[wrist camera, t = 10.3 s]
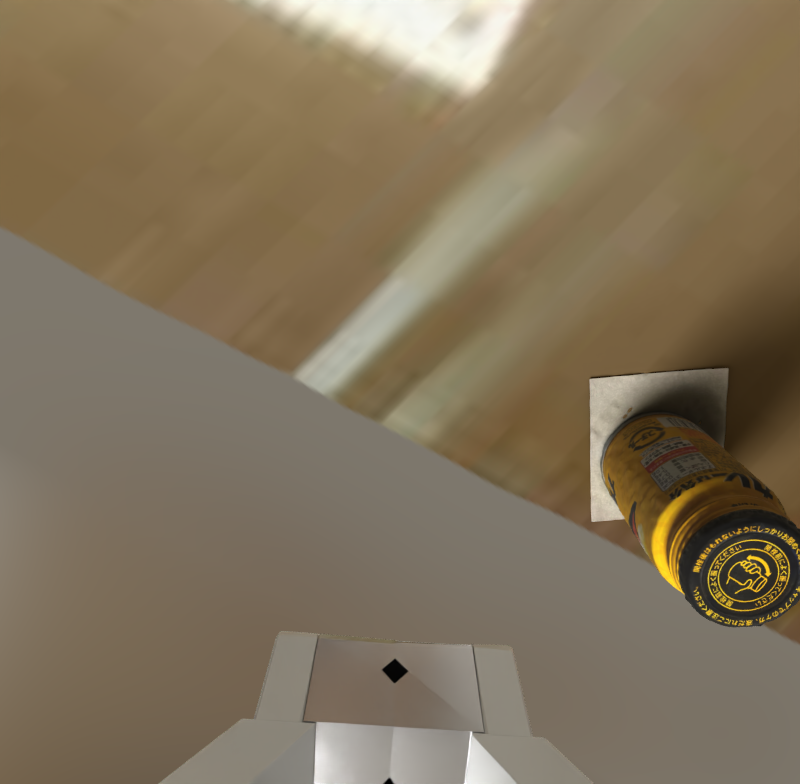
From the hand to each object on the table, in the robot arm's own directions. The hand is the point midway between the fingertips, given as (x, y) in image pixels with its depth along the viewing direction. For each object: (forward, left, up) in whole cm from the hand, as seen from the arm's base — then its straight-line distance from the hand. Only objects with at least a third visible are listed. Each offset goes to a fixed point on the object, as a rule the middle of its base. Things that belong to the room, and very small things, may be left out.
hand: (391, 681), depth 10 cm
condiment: (-15, +8, -30) cm, 34 cm away
